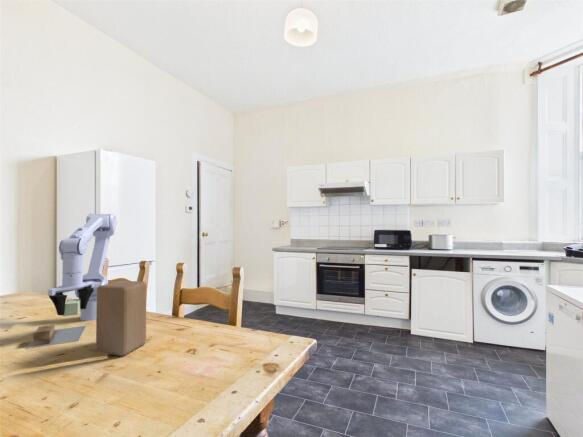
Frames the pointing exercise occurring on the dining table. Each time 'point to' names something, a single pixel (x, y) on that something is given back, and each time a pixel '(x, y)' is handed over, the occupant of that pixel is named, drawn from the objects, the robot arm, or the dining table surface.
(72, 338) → the baseplate
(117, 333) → the block
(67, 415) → the dining table surface
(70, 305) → the green brick
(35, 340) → the walnut brick
